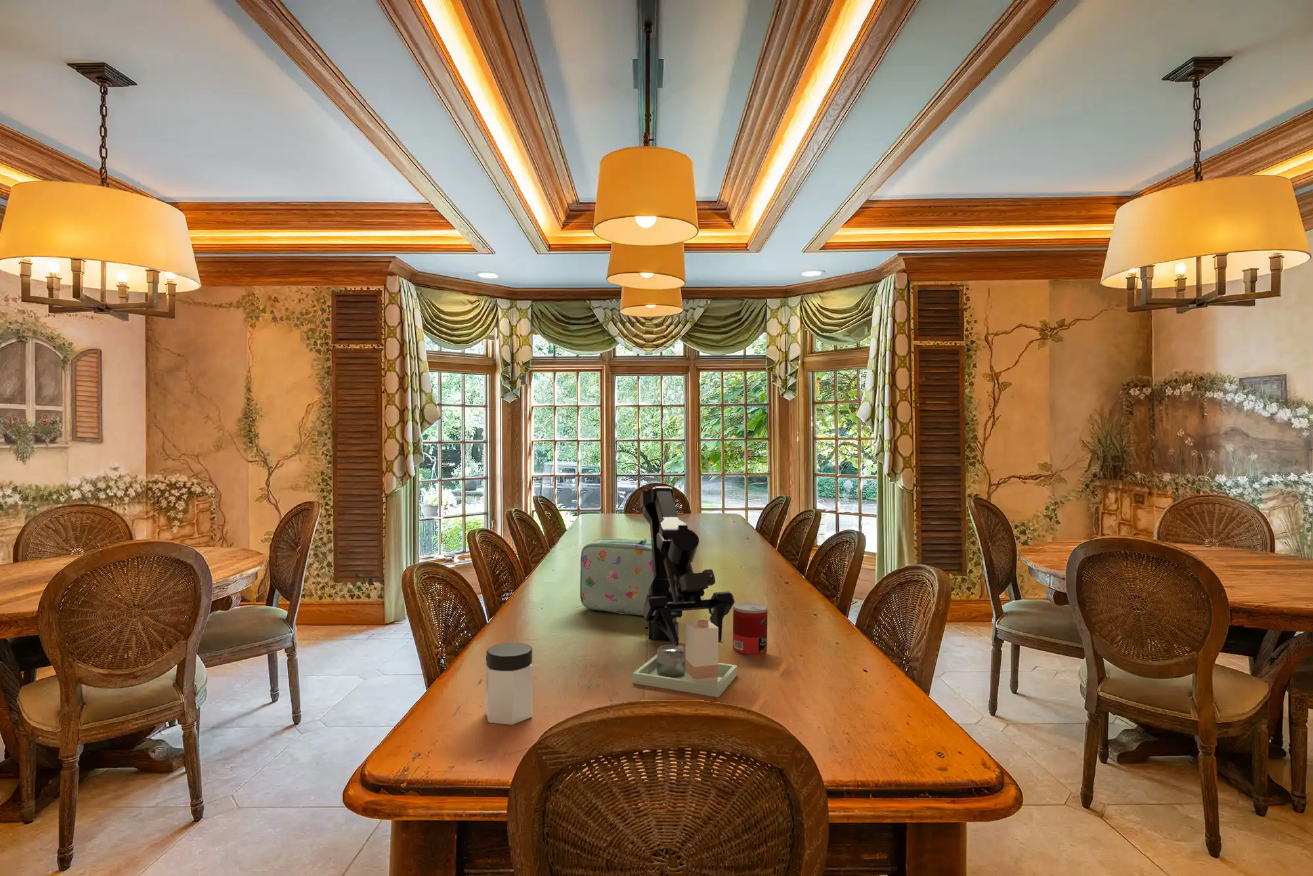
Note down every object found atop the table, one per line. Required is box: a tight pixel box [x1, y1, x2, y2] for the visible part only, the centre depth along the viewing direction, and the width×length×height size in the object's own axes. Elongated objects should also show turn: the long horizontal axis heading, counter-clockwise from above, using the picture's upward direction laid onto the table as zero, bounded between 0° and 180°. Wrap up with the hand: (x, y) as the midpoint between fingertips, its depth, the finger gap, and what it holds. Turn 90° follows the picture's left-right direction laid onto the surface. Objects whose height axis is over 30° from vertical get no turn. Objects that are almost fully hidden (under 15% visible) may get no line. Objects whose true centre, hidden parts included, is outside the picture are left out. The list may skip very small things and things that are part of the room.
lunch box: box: [579, 537, 654, 617], centre depth 196 cm, size 27×10×21 cm, turn 71°
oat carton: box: [685, 619, 719, 685], centre depth 136 cm, size 5×5×13 cm
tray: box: [632, 654, 738, 698], centre depth 139 cm, size 18×13×3 cm
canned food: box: [732, 601, 768, 655], centre depth 159 cm, size 8×8×11 cm
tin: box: [656, 644, 686, 678], centre depth 143 cm, size 6×6×5 cm
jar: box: [485, 642, 534, 726], centre depth 123 cm, size 9×8×12 cm
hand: (698, 643), depth 138 cm, fingers open, 9 cm apart
